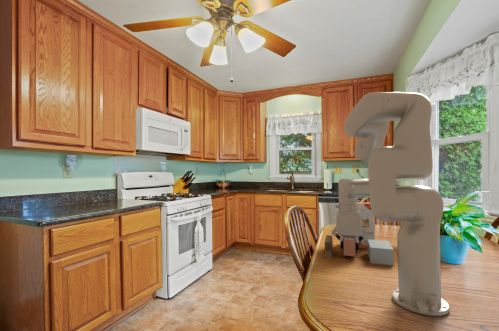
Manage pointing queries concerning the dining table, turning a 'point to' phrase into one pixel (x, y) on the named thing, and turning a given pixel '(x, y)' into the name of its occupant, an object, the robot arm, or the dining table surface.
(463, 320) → the dining table surface
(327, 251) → the bookend
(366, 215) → the cracker box
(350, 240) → the pink rectangular block
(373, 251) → the slate block
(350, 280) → the dining table surface
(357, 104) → the robot arm
